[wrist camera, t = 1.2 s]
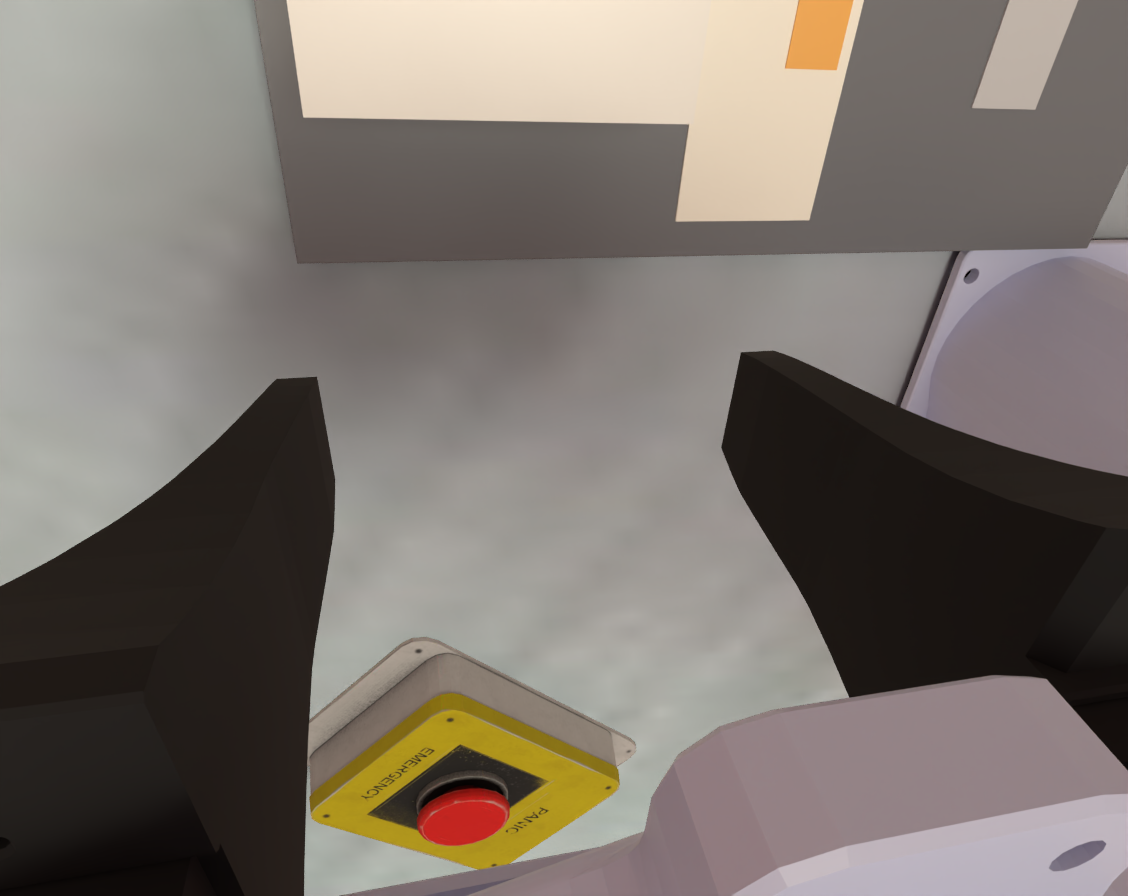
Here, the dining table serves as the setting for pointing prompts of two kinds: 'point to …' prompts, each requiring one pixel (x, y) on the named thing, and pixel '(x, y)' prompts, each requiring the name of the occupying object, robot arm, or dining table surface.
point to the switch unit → (751, 145)
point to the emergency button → (456, 758)
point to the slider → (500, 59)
